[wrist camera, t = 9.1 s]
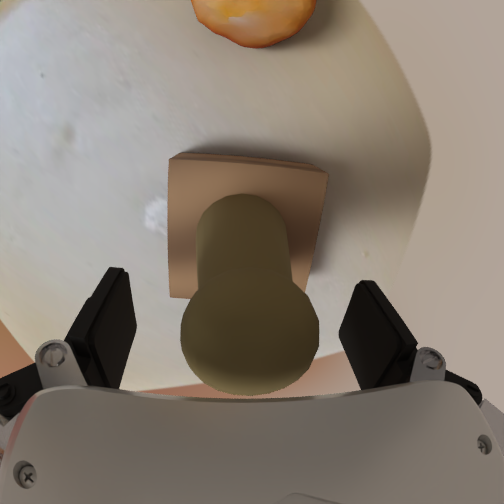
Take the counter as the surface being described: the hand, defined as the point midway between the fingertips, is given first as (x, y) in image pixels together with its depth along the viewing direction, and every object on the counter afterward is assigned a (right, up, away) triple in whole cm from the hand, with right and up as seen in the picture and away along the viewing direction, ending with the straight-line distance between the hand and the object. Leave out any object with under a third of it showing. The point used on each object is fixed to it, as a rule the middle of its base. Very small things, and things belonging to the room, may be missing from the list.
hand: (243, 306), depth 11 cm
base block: (-1, +5, +11) cm, 12 cm away
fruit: (0, +20, +4) cm, 21 cm away
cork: (0, +3, +8) cm, 8 cm away
